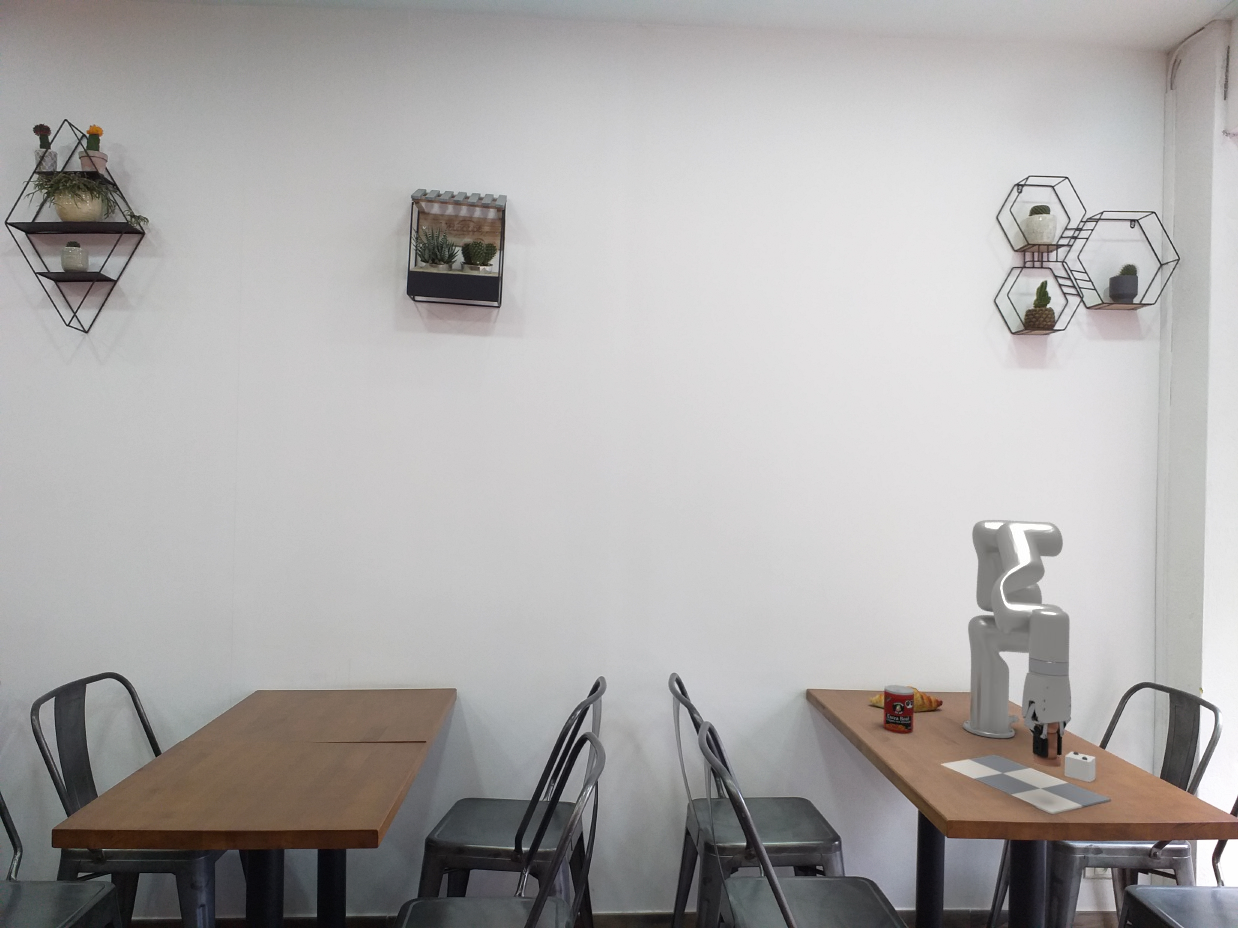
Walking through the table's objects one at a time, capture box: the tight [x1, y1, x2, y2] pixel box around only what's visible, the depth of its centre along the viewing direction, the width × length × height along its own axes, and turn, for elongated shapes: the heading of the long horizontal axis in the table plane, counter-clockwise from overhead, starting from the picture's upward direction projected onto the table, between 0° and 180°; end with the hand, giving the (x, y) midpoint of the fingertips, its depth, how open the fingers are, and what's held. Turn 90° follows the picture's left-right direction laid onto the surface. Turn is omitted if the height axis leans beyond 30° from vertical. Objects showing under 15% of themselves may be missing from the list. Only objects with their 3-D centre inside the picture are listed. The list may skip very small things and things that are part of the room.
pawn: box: [1032, 722, 1062, 768], centre depth 164 cm, size 5×5×10 cm
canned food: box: [883, 684, 915, 734], centre depth 210 cm, size 8×8×11 cm
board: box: [939, 754, 1112, 815], centre depth 174 cm, size 19×28×1 cm, turn 25°
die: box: [1064, 751, 1096, 783], centre depth 178 cm, size 5×5×6 cm
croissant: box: [869, 685, 944, 713], centre depth 231 cm, size 21×10×8 cm, turn 85°
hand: (1047, 753), depth 163 cm, fingers closed on pawn, 3 cm apart
